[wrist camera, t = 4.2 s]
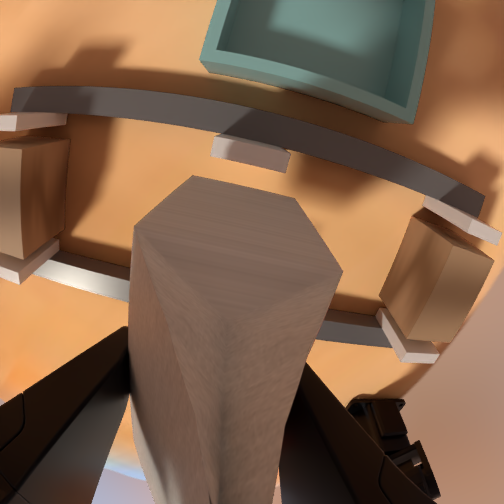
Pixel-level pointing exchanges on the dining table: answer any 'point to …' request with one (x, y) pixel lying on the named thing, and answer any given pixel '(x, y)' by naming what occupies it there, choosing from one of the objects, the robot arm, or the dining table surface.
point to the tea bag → (221, 337)
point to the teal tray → (327, 50)
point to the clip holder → (249, 152)
